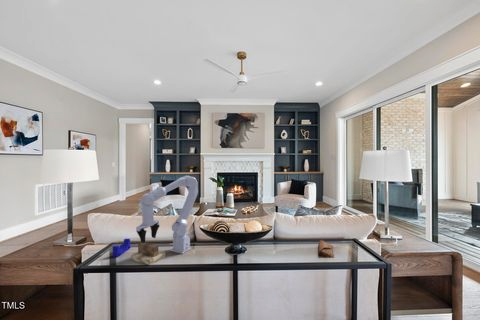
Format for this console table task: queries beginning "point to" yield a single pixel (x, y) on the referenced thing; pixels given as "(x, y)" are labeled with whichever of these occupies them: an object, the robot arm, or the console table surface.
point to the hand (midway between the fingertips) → (148, 239)
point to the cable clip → (121, 248)
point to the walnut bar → (148, 249)
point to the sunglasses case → (325, 249)
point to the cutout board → (147, 260)
